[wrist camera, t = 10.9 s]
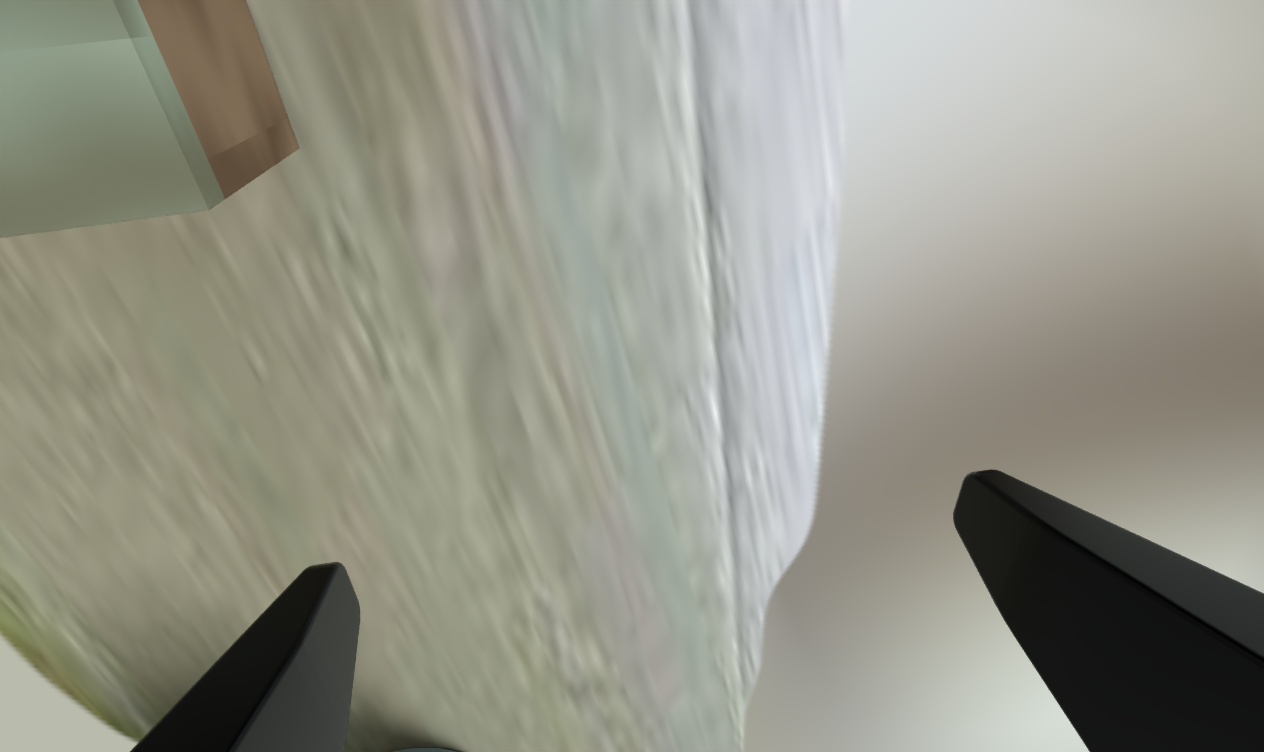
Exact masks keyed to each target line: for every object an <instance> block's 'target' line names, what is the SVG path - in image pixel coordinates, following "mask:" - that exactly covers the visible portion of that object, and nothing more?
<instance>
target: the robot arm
mask: <svg viewBox="0 0 1264 752" xmlns="http://www.w3.org/2000/svg"><path fill="white" fill-rule="evenodd" d="M953 519H954V524H955V528H956V530H957V532H958V534H959V536H960V538H961V539H962V541H963V543H964V545H965V547H966V549H967V551H968V553H969V555H970V557H971V559H972V560H973V562H974V564H975V566H976V568H977V570H978V572H979V574H980V576H981V578H982V580H983V582H984V584H985V585H986V587H987V589H988V591H989V593H990V595H991V597H992V599H993V601H994V603H995V605H996V606H997V608H998V610H999V612H1000V613H1001V615H1002V617H1003V619H1004V621H1005V622H1006V624H1007V625H1008V627H1009V628H1010V630H1011V632H1012V633H1013V635H1014V636H1015V638H1016V639H1017V641H1018V643H1019V644H1020V646H1021V647H1022V649H1023V650H1024V652H1025V653H1026V655H1027V656H1028V658H1029V659H1030V661H1031V662H1032V664H1033V665H1034V667H1035V669H1036V670H1037V672H1038V673H1039V675H1040V676H1041V678H1042V679H1043V681H1044V682H1045V684H1046V685H1047V687H1048V689H1049V690H1050V691H1051V693H1052V695H1053V696H1054V698H1055V699H1056V701H1057V702H1058V704H1059V705H1060V707H1061V708H1062V710H1063V712H1064V713H1065V714H1066V716H1067V718H1068V719H1069V721H1070V722H1071V724H1072V725H1073V727H1074V728H1075V730H1076V731H1077V733H1078V734H1079V736H1080V738H1081V739H1082V740H1083V742H1084V744H1085V745H1086V747H1087V748H1088V750H1089V751H1090V752H1264V593H1262V592H1259V591H1257V590H1255V589H1253V588H1251V587H1249V586H1246V585H1244V584H1242V583H1240V582H1238V581H1236V580H1234V579H1231V578H1229V577H1227V576H1225V575H1223V574H1221V573H1218V572H1216V571H1214V570H1212V569H1210V568H1208V567H1206V566H1203V565H1201V564H1199V563H1197V562H1195V561H1193V560H1190V559H1188V558H1186V557H1184V556H1181V555H1180V554H1178V553H1175V552H1173V551H1171V550H1169V549H1167V548H1164V547H1162V546H1160V545H1158V544H1156V543H1154V542H1151V541H1149V540H1147V539H1145V538H1143V537H1141V536H1139V535H1136V534H1134V533H1132V532H1130V531H1128V530H1126V529H1124V528H1121V527H1119V526H1117V525H1115V524H1113V523H1111V522H1108V521H1106V520H1104V519H1102V518H1100V517H1098V516H1096V515H1093V514H1091V513H1089V512H1087V511H1085V510H1083V509H1081V508H1078V507H1076V506H1074V505H1072V504H1070V503H1068V502H1065V501H1063V500H1061V499H1059V498H1057V497H1055V496H1053V495H1050V494H1048V493H1046V492H1044V491H1042V490H1040V489H1037V488H1035V487H1033V486H1031V485H1029V484H1026V483H1024V482H1022V481H1020V480H1018V479H1016V478H1014V477H1011V476H1009V475H1007V474H1005V473H1003V472H1001V471H998V470H984V471H977V472H971V473H969V474H967V475H966V477H965V478H964V480H963V483H962V486H961V489H960V492H959V496H958V499H957V502H956V505H955V508H954V512H953ZM359 625H360V606H359V602H358V599H357V596H356V594H355V591H354V589H353V586H352V584H351V581H350V579H349V576H348V574H347V571H346V569H345V567H344V566H343V565H342V564H341V563H339V562H333V563H325V564H318V565H312V566H309V567H308V568H306V569H305V570H304V571H303V572H302V573H301V574H300V575H299V576H298V577H297V578H296V579H295V580H294V581H293V582H292V583H291V584H290V585H289V586H288V587H287V588H286V589H285V590H284V591H283V592H282V593H281V595H280V596H279V597H278V598H277V599H276V600H275V601H274V602H273V603H272V604H271V605H270V606H269V607H268V608H267V609H266V610H265V611H264V612H263V613H262V614H261V615H260V616H259V618H258V619H257V620H256V621H255V622H254V623H253V624H252V625H251V626H250V627H249V628H248V629H247V630H246V631H245V632H244V633H243V634H242V635H241V636H240V637H239V638H238V639H237V640H236V642H235V643H234V644H233V645H232V646H231V647H230V648H229V649H228V650H227V651H226V652H225V653H224V654H223V655H222V656H221V657H220V658H219V659H218V660H217V661H216V662H215V663H214V664H213V666H212V667H211V668H210V669H209V670H208V671H207V672H206V673H205V674H204V675H203V676H202V677H201V678H200V679H199V680H198V681H197V682H196V683H195V684H194V685H193V686H192V687H191V688H190V690H189V691H188V692H187V693H186V694H185V695H184V696H183V697H182V698H181V699H180V700H179V701H178V702H177V703H176V704H175V705H174V706H173V707H172V708H171V709H170V710H169V711H168V712H167V714H166V715H165V716H164V717H163V718H162V719H161V720H160V721H159V722H158V723H157V724H156V725H155V726H154V727H153V728H152V729H151V730H150V731H149V732H148V733H147V734H146V735H145V737H144V738H143V739H142V740H141V741H140V742H139V743H138V744H137V745H136V746H135V747H134V748H133V749H132V750H131V751H130V752H343V751H344V746H345V741H346V736H347V730H348V722H349V715H350V706H351V697H352V688H353V679H354V670H355V661H356V652H357V643H358V634H359Z"/></svg>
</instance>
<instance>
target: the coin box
mask: <svg viewBox="0 0 1264 752" xmlns="http://www.w3.org/2000/svg"><path fill="white" fill-rule="evenodd" d="M298 149H299V146H298V144H297V141H296V138H295V135H294V133H293V130H292V127H291V124H290V122H289V119H288V116H287V113H286V110H285V108H284V105H283V102H282V99H281V97H280V94H279V91H278V88H277V86H276V83H275V80H274V77H273V75H272V72H271V69H270V66H269V64H268V61H267V58H266V55H265V53H264V50H263V47H262V44H261V41H260V39H259V36H258V33H257V30H256V28H255V25H254V22H253V19H252V17H251V14H250V11H249V8H248V6H247V3H246V0H0V238H3V237H10V236H18V235H25V234H33V233H40V232H48V231H55V230H63V229H70V228H78V227H85V226H93V225H100V224H108V223H116V222H123V221H131V220H138V219H146V218H153V217H161V216H168V215H176V214H183V213H191V212H198V211H206V210H210V209H211V208H213V207H214V206H216V205H217V204H219V203H220V202H222V201H223V200H225V199H226V198H227V197H229V196H230V195H232V194H233V193H235V192H236V191H238V190H239V189H241V188H242V187H244V186H245V185H246V184H248V183H249V182H251V181H252V180H254V179H255V178H257V177H258V176H260V175H261V174H263V173H264V172H265V171H267V170H268V169H270V168H271V167H273V166H274V165H276V164H277V163H279V162H280V161H282V160H283V159H284V158H286V157H287V156H289V155H290V154H292V153H293V152H295V151H296V150H298Z"/></svg>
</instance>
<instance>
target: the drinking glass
mask: <svg viewBox="0 0 1264 752" xmlns="http://www.w3.org/2000/svg"><path fill="white" fill-rule="evenodd" d="M392 752H457V751H453V750H449V749H441V748H410V749H402V750H397V751H392Z"/></svg>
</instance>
